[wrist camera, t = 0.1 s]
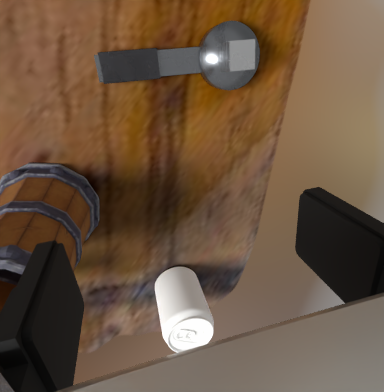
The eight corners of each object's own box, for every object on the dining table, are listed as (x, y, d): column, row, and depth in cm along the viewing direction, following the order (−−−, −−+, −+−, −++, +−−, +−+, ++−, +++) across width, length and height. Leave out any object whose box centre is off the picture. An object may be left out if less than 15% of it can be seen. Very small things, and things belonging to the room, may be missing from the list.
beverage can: (187, 300, 54) (204, 356, 44) (148, 296, 51) (156, 354, 41) (202, 268, 52) (224, 318, 41) (162, 261, 49) (175, 313, 38)
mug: (81, 280, 46) (58, 409, 29) (-20, 267, 41) (-123, 414, 24) (112, 177, 41) (107, 259, 23) (0, 147, 35) (-119, 222, 18)
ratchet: (90, 32, 33) (84, 24, 27) (252, 22, 37) (274, 13, 31) (104, 102, 36) (102, 107, 31) (251, 86, 40) (272, 88, 35)
